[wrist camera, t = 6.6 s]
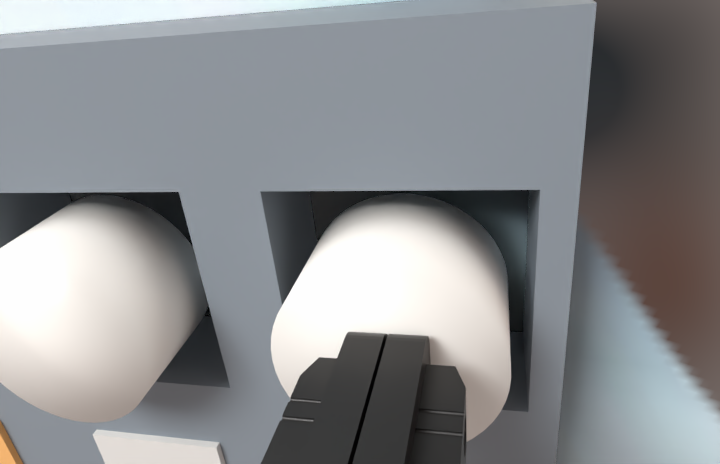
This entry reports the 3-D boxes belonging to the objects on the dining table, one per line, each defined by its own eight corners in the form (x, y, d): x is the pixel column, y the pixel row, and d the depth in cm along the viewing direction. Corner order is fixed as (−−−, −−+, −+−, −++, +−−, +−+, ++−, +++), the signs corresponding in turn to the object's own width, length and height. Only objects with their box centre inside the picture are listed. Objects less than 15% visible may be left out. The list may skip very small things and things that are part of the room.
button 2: (325, 353, 15) (290, 443, 12) (300, 193, 13) (251, 261, 10) (505, 364, 14) (508, 465, 11) (510, 193, 12) (514, 267, 9)
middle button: (81, 338, 17) (4, 414, 14) (23, 195, 14) (-79, 253, 12) (225, 347, 15) (170, 431, 13) (185, 194, 13) (111, 257, 11)
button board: (-8, 443, 24) (-74, 510, 21) (-222, 52, 16) (-366, 77, 14) (537, 507, 19) (544, 607, 16) (573, -14, 11) (598, 3, 9)
